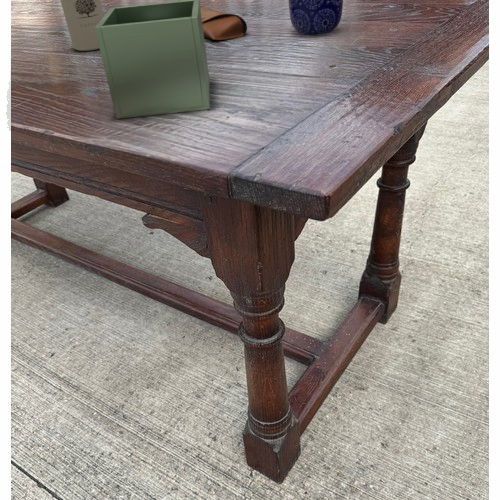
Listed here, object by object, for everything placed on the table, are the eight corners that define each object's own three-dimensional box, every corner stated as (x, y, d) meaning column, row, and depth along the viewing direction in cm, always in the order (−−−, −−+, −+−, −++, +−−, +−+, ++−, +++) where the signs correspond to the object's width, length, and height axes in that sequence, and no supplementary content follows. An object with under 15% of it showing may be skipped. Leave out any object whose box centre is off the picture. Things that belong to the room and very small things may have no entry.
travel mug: (74, 45, 114) (49, -48, 103) (110, 40, 115) (89, -52, 104) (73, 53, 107) (46, -44, 97) (111, 48, 108) (88, -49, 98)
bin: (116, 119, 74) (94, 27, 67) (128, 88, 85) (110, 7, 78) (209, 109, 74) (197, 17, 67) (209, 80, 85) (199, -2, 78)
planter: (284, 38, 103) (282, -23, 96) (295, 25, 111) (293, -32, 105) (338, 37, 100) (340, -26, 93) (345, 24, 108) (347, -35, 102)
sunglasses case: (173, 28, 117) (182, -2, 115) (198, 38, 121) (207, 10, 120) (214, 40, 104) (225, 7, 102) (240, 51, 109) (251, 20, 107)
